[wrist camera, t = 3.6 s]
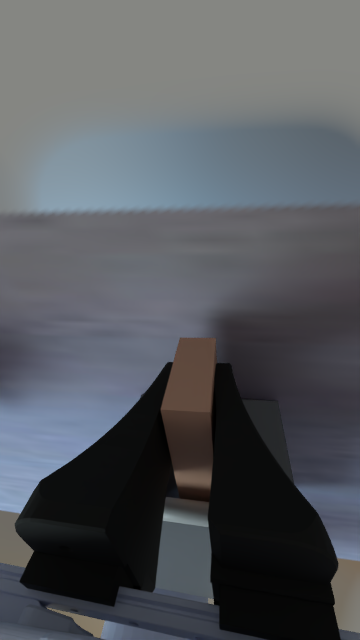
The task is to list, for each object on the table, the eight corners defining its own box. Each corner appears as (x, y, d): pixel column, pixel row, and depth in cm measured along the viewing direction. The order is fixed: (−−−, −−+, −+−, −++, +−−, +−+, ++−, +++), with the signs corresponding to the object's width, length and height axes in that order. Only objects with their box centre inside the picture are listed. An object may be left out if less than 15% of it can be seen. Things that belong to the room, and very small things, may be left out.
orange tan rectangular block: (222, 483, 18) (220, 559, 14) (198, 480, 18) (191, 554, 15) (215, 337, 12) (209, 412, 8) (180, 337, 12) (160, 409, 9)
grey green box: (267, 485, 19) (282, 612, 14) (162, 474, 21) (139, 584, 16) (278, 394, 14) (307, 535, 9) (140, 388, 16) (95, 506, 11)
